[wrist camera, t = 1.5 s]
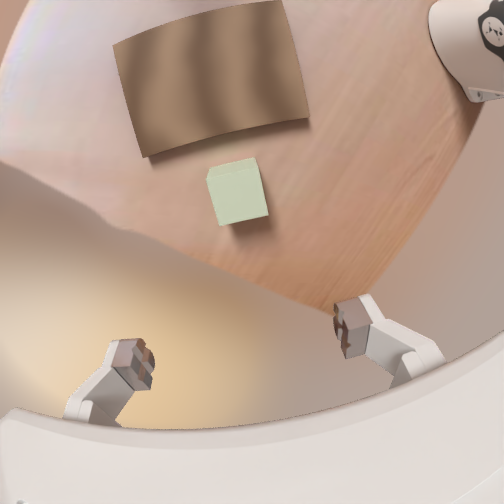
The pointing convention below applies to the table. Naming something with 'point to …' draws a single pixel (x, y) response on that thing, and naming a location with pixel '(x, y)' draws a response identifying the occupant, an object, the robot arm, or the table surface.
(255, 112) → the serving board
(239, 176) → the cube
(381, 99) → the table surface
